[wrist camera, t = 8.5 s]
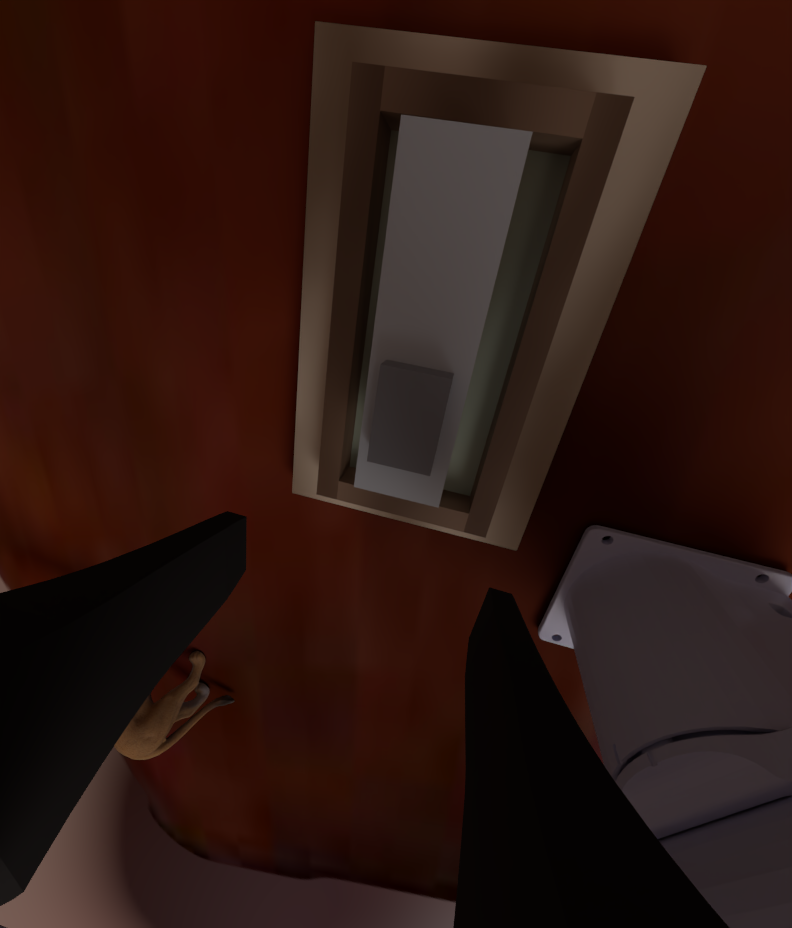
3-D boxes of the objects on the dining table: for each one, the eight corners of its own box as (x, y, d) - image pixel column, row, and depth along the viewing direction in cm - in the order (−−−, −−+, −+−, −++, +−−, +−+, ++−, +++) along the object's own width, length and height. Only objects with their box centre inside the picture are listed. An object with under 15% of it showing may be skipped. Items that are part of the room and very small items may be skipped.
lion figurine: (79, 601, 31) (-64, 712, 23) (98, 568, 28) (-53, 678, 20) (225, 704, 33) (142, 840, 25) (254, 681, 30) (173, 822, 22)
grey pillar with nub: (514, 186, 13) (537, 117, 8) (449, 451, 17) (436, 520, 12) (428, 173, 13) (394, 98, 8) (385, 436, 18) (346, 498, 12)
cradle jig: (686, 85, 12) (745, 27, 9) (514, 536, 20) (519, 574, 17) (328, 42, 13) (290, -20, 11) (301, 482, 21) (276, 510, 19)
